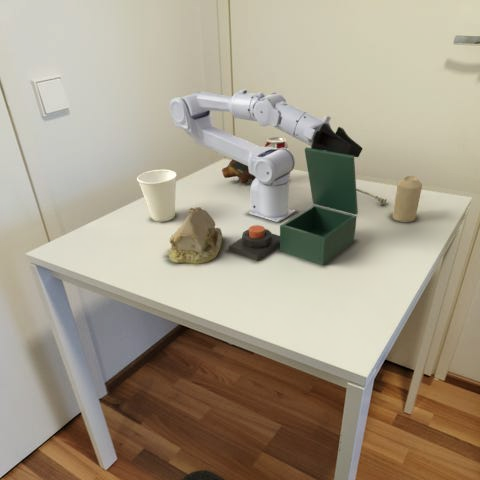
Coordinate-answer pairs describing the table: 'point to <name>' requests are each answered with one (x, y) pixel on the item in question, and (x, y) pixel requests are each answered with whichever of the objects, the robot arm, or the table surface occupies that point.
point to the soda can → (276, 142)
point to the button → (256, 232)
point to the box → (317, 234)
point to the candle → (407, 199)
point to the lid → (332, 180)
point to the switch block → (255, 245)
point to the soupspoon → (374, 196)
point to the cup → (159, 193)
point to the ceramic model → (195, 239)
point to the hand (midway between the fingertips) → (354, 152)
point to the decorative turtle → (237, 171)
